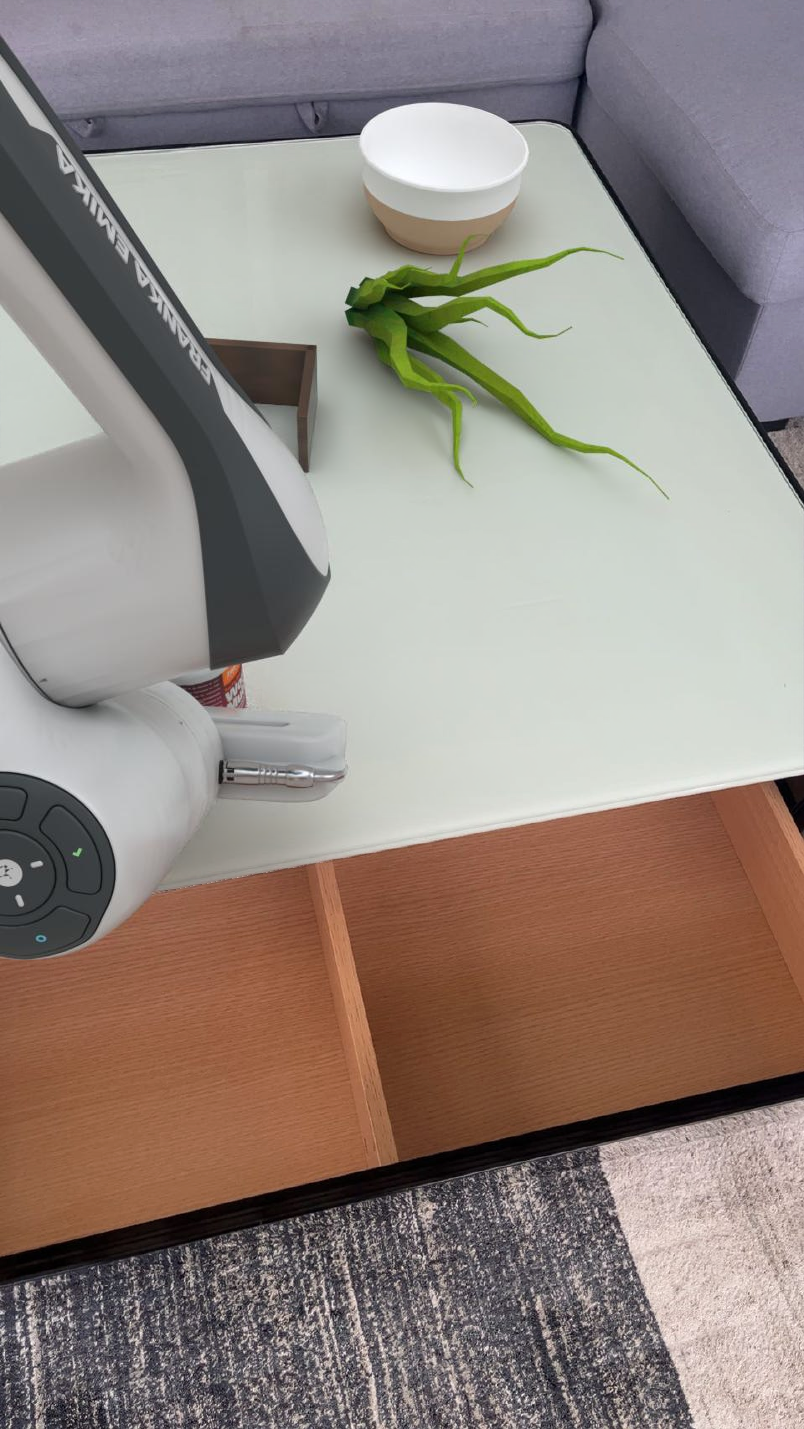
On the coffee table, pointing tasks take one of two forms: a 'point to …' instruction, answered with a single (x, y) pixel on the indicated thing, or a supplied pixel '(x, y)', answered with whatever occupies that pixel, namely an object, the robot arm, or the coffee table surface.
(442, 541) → the coffee table surface
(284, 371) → the u-shaped stand
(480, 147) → the bowl
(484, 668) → the coffee table surface
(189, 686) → the pill bottle
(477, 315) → the coffee table surface
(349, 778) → the coffee table surface
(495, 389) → the decorative plant
